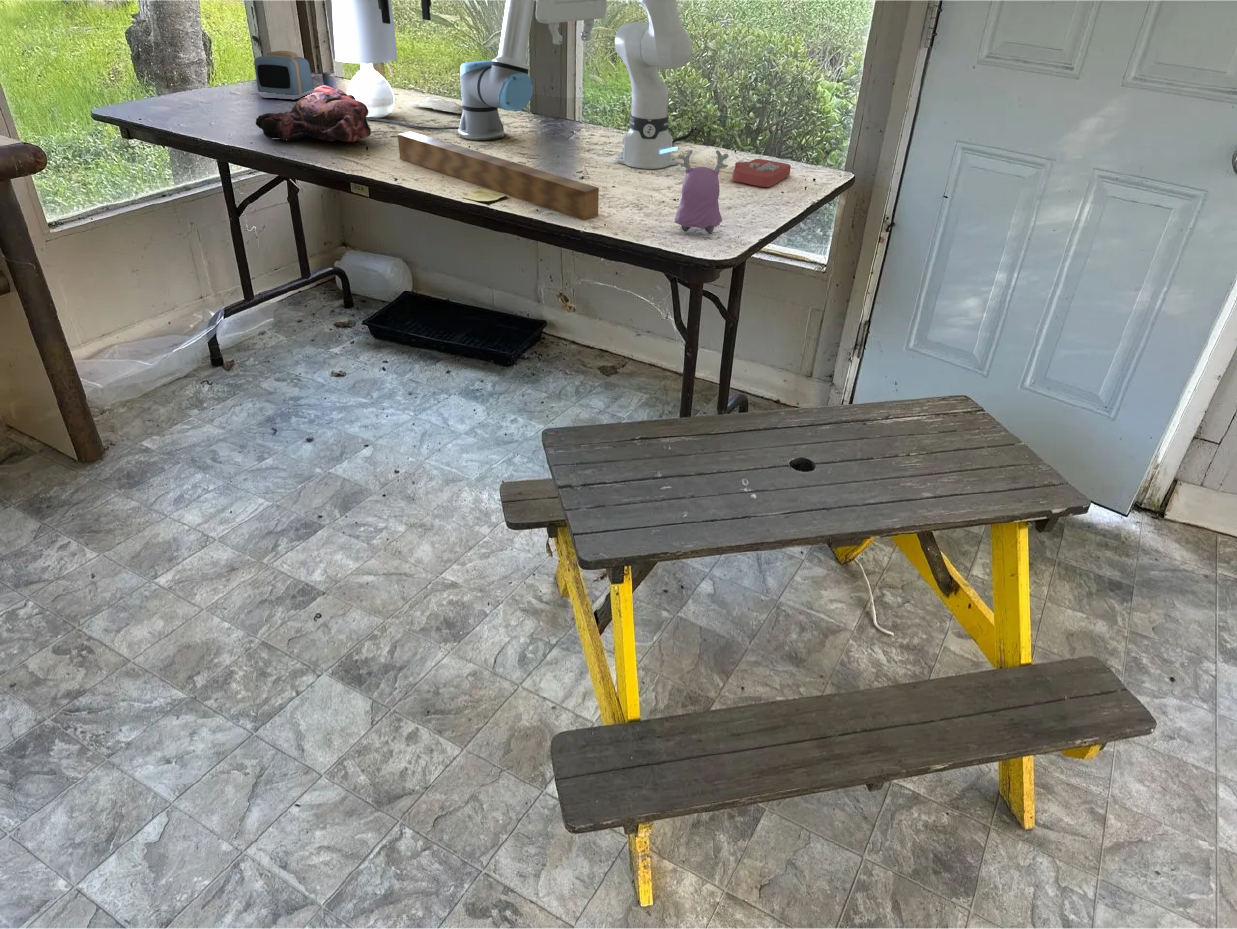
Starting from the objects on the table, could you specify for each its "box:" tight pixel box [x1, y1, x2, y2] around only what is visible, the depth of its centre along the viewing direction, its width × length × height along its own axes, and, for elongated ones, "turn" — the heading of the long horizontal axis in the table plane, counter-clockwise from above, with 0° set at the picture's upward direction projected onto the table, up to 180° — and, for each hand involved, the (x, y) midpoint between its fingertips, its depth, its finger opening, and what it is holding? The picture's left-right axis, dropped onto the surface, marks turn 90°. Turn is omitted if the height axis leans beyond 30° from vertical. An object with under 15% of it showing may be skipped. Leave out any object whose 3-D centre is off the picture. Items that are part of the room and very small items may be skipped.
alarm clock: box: [253, 50, 315, 95], centre depth 326 cm, size 16×16×16 cm
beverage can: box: [321, 71, 338, 90], centre depth 314 cm, size 9×8×12 cm
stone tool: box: [408, 96, 463, 115], centre depth 318 cm, size 11×3×25 cm
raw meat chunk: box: [255, 84, 372, 143], centre depth 275 cm, size 43×30×13 cm
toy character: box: [674, 149, 730, 234], centre depth 207 cm, size 12×10×20 cm
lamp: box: [324, 0, 398, 119], centre depth 295 cm, size 22×22×40 cm
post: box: [397, 131, 600, 221], centre depth 240 cm, size 79×5×7 cm, turn 48°
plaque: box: [732, 158, 792, 188], centre depth 254 cm, size 18×4×15 cm
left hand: (406, 21), depth 238 cm, fingers open, 13 cm apart
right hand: (571, 42), depth 201 cm, fingers open, 8 cm apart
